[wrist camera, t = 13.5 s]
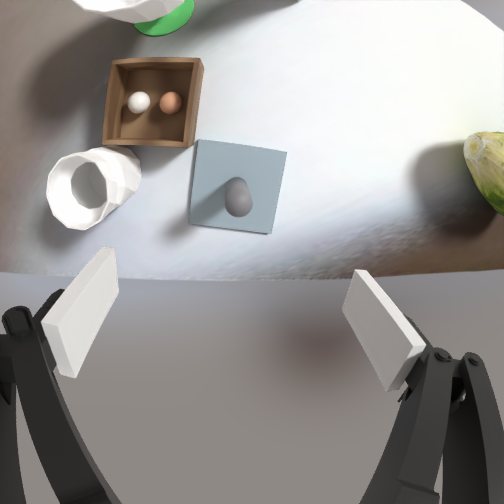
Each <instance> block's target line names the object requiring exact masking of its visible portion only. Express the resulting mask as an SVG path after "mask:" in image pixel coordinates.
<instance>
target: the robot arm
mask: <svg viewBox="0 0 504 504" xmlns="http://www.w3.org/2000/svg"><path fill="white" fill-rule="evenodd" d="M118 293H119V289H118V279H117V268H116V254H115V248H110V247H102V248H101V249H100V250H99V251H98V252H97V253H96V254H95V256H94V257H93V258H92V259H91V260H90V261H89V262H88V264H87V265H86V266H85V267H84V268H83V269H82V270H81V272H80V273H79V274H78V275H77V276H76V278H75V279H74V280H73V281H72V282H71V284H70V285H69V286H68V287H67V289H66V290H64V289H59V290H57V291H56V292H54V293H53V294H51V296H50V297H49V298H48V299H47V301H46V302H45V303H44V304H43V306H42V307H41V308H40V309H39V310H38V312H37V313H36V314H35V316H34V317H33V318H32V315H31V312H30V310H29V309H28V308H27V307H25V306H16V307H13V308H10V309H9V310H7V311H6V312H5V313H4V315H3V316H2V323H3V325H4V328H5V330H6V333H7V334H2V335H1V334H0V504H26V500H25V495H24V490H23V484H22V478H21V472H20V465H19V457H18V447H17V431H16V385H17V389H18V393H19V397H20V401H21V405H22V409H23V412H24V416H25V419H26V422H27V425H28V429H29V432H30V435H31V438H32V440H33V443H34V446H35V449H36V451H37V454H38V456H39V459H40V462H41V464H42V466H43V468H44V471H45V473H46V476H47V478H48V480H49V482H50V484H51V486H52V488H53V490H54V492H55V494H56V496H57V498H58V500H59V502H60V504H122V503H121V502H120V500H119V499H118V498H117V496H116V495H115V493H114V492H113V490H112V489H111V487H110V486H109V484H108V483H107V481H106V480H105V478H104V476H103V475H102V473H101V472H100V470H99V469H98V467H97V465H96V463H95V462H94V460H93V458H92V456H91V454H90V453H89V451H88V449H87V447H86V445H85V443H84V441H83V439H82V438H81V436H80V433H79V432H78V429H77V427H76V425H75V423H74V421H73V419H72V417H71V415H70V412H69V410H68V408H67V405H66V403H65V401H64V398H63V396H62V393H61V391H60V388H59V386H58V383H57V380H56V378H55V375H54V373H53V370H54V368H55V366H56V365H57V367H58V370H59V372H60V374H62V375H65V376H69V377H73V378H76V377H77V374H78V372H79V370H80V368H81V366H82V363H83V361H84V359H85V357H86V355H87V353H88V351H89V349H90V347H91V345H92V343H93V341H94V338H95V337H96V335H97V333H98V331H99V329H100V327H101V325H102V323H103V321H104V319H105V317H106V315H107V313H108V311H109V309H110V307H111V306H112V304H113V302H114V300H115V299H116V297H117V295H118ZM342 311H343V313H344V315H345V316H346V318H347V320H348V322H349V323H350V325H351V327H352V329H353V331H354V332H355V334H356V336H357V338H358V340H359V341H360V343H361V345H362V347H363V349H364V351H365V352H366V354H367V356H368V358H369V360H370V362H371V364H372V366H373V367H374V369H375V371H376V373H377V375H378V377H379V379H380V381H381V383H382V384H383V387H384V389H385V390H386V392H387V391H392V390H399V389H400V387H401V386H402V384H403V383H404V381H406V382H407V384H408V387H407V389H406V390H405V391H404V393H403V394H402V396H401V397H400V398H399V400H398V402H400V401H401V400H402V402H401V405H400V409H399V411H398V414H397V418H396V420H395V423H394V426H393V429H392V432H391V434H390V437H389V440H388V442H387V445H386V447H385V450H384V452H383V455H382V457H381V460H380V462H379V464H378V466H377V469H376V471H375V473H374V475H373V478H372V480H371V482H370V484H369V486H368V488H367V490H366V492H365V494H364V496H363V498H362V500H361V501H360V503H359V504H439V499H440V496H439V493H436V492H434V485H435V481H436V478H437V474H438V470H439V466H440V461H441V457H442V454H443V490H442V504H504V431H503V426H502V422H501V418H500V414H499V410H498V406H497V402H496V399H495V395H494V392H493V389H492V386H491V382H490V380H489V376H488V373H487V371H486V368H485V365H484V362H483V360H482V359H481V358H480V357H479V356H478V355H477V354H475V353H471V352H467V353H465V355H464V356H463V358H462V359H461V360H456V359H453V358H452V357H451V355H450V354H449V353H448V352H447V351H445V350H443V349H441V348H433V347H432V345H431V344H430V343H429V341H428V340H427V339H426V337H425V336H424V335H423V334H422V332H420V330H419V328H418V327H416V325H415V323H414V322H413V321H412V320H411V319H410V318H409V317H407V316H406V315H404V314H402V313H401V312H400V310H399V309H398V308H397V307H396V306H395V304H394V303H393V302H392V301H391V299H390V298H389V297H388V296H387V294H386V293H385V292H384V291H383V290H382V289H381V287H380V286H379V285H378V284H377V283H376V281H375V280H374V279H373V278H372V277H371V275H370V274H369V273H368V272H367V271H366V270H356V269H355V270H354V274H353V277H352V280H351V283H350V286H349V289H348V293H347V296H346V298H345V301H344V304H343V307H342ZM465 393H466V395H465V399H464V401H463V395H464V394H465Z"/></svg>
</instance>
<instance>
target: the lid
mask: <svg viewBox="0 0 504 504" xmlns="http://www.w3.org/2000/svg"><path fill="white" fill-rule="evenodd" d="M286 155H287V152H284V151H278V150H273V149H267V148H261V147H255V146H248V145H242V144H235V143H227V142H219V141H211V140H202V139H199V141H198V148H197V156H196V163H195V171H194V179H193V188H192V197H191V206H190V216H189V224H197V225H205V226H213V227H222V228H230V229H238V230H246V231H254V232H261V233H269V234H271V233H272V228H273V223H274V218H275V213H276V208H277V203H278V197H279V192H280V187H281V182H282V176H283V171H284V166H285V161H286Z"/></svg>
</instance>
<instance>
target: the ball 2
mask: <svg viewBox="0 0 504 504" xmlns="http://www.w3.org/2000/svg"><path fill="white" fill-rule="evenodd" d="M159 104H160V108H161V110H162V111H163V112H164V113H167V114H174V113H176V112H178V111H179V110H180V109H181V107H182V105H183V99H182V97H181V96H180V95H179V94H178V93H176V92H168V93H166V94H164V95H163V96H162V97H161V99H160V103H159Z"/></svg>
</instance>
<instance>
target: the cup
mask: <svg viewBox="0 0 504 504" xmlns="http://www.w3.org/2000/svg"><path fill="white" fill-rule="evenodd" d="M72 1H73V2H74V3H76V4H77V5H78V6H79V7H80V8H82V9H83V10H84V11H88V12H92V13H96V14H99V15H103V16H107V17H110V18H114V19H117V20H121V21H125V22H130V23H134V26H135V27H136V28H137V29H138V30H139V31H140V32H141V33H143V34H147V35H151V36H158V35H166V34H168V33H171V32H173V31H176V30H178V29H179V28H180V27H181V26H183V25H184V24H185V23H187V21H188V20H189V18H190V16H191V15H192V13H193V8H194V2H193V0H72Z"/></svg>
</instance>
